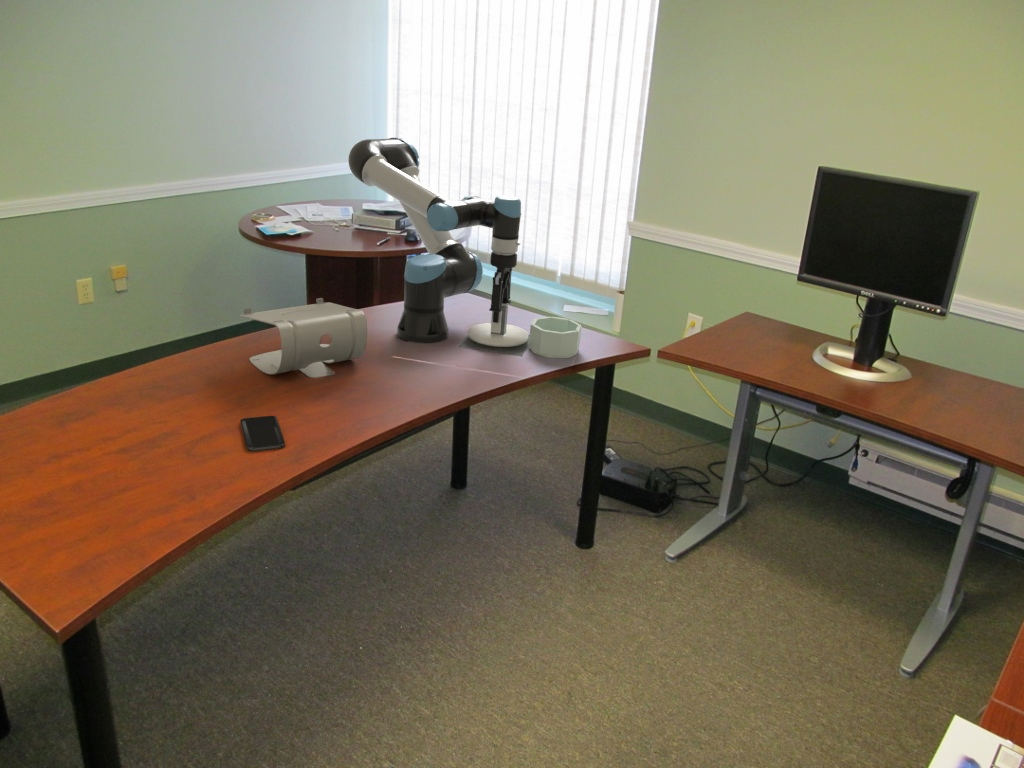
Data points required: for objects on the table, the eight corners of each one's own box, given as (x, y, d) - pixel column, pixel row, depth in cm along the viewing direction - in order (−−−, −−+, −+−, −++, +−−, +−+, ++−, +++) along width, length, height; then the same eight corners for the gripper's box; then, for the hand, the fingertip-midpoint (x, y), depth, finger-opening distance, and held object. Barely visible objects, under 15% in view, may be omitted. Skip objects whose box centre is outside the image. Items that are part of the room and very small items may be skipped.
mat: (457, 347, 236) (457, 346, 236) (475, 327, 254) (475, 326, 253) (521, 357, 233) (521, 356, 233) (535, 336, 250) (535, 335, 250)
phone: (247, 449, 170) (240, 418, 182) (247, 453, 170) (240, 422, 183) (286, 444, 173) (276, 415, 185) (286, 449, 173) (276, 419, 186)
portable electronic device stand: (279, 388, 201) (277, 328, 195) (240, 357, 217) (237, 301, 211) (370, 369, 216) (371, 313, 210) (327, 341, 233) (327, 289, 227)
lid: (460, 345, 237) (461, 311, 233) (476, 327, 253) (478, 294, 249) (520, 355, 233) (523, 320, 229) (533, 335, 250) (536, 302, 246)
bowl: (525, 354, 235) (527, 328, 232) (535, 339, 248) (537, 314, 245) (573, 362, 233) (576, 335, 230) (580, 346, 245) (583, 321, 242)
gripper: (509, 261, 223) (503, 340, 232) (524, 246, 241) (518, 320, 250) (482, 258, 225) (477, 336, 233) (499, 243, 242) (494, 316, 251)
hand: (498, 328), depth 242 cm, fingers open, 7 cm apart
